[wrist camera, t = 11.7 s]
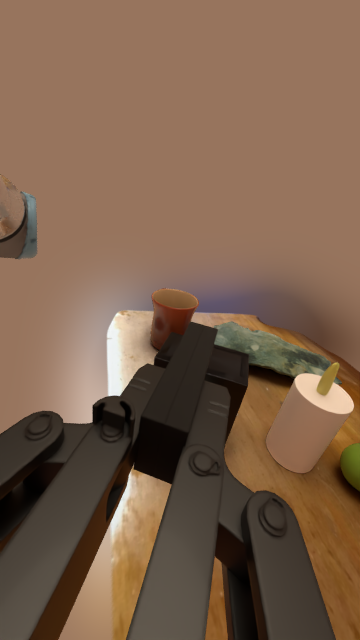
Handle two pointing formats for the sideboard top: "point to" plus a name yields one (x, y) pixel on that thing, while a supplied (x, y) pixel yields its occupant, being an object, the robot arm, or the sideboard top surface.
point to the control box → (216, 371)
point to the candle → (308, 420)
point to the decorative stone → (271, 351)
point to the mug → (171, 314)
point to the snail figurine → (351, 465)
